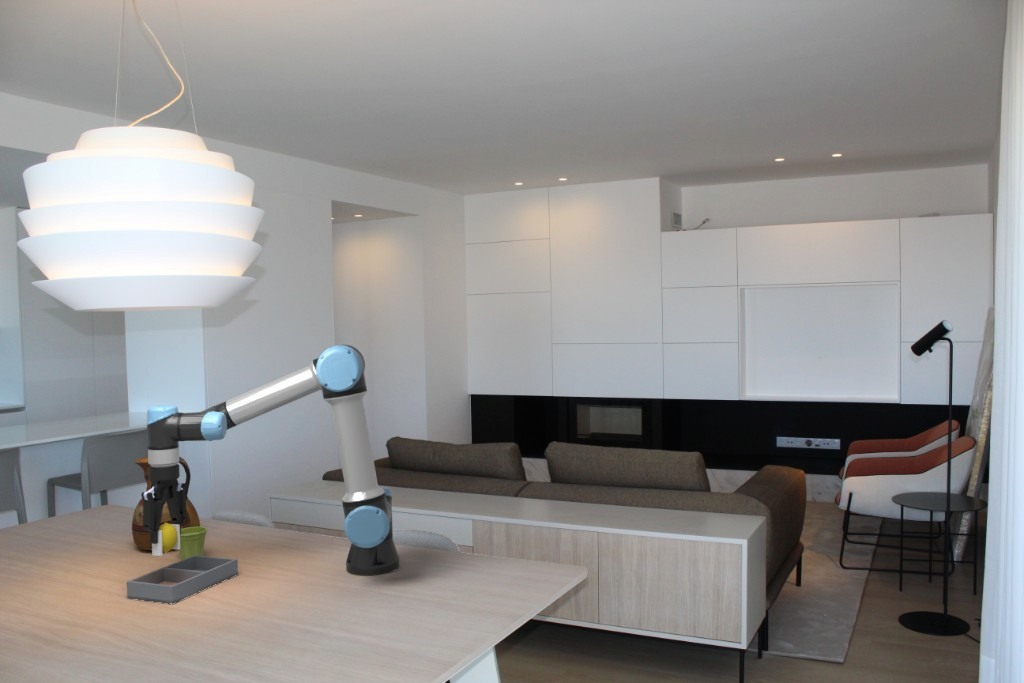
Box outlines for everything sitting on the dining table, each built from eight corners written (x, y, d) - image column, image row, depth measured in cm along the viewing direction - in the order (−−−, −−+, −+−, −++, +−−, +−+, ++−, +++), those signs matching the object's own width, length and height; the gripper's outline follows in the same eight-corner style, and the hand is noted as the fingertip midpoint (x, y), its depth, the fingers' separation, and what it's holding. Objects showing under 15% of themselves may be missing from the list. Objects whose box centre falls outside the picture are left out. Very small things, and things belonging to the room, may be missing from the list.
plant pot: (186, 565, 241) (185, 536, 240) (168, 560, 246) (167, 531, 246) (214, 557, 248) (213, 529, 248) (197, 552, 254) (196, 525, 253)
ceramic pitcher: (132, 543, 267) (129, 452, 266) (198, 535, 275) (195, 446, 274) (132, 558, 249) (129, 461, 248) (203, 549, 257) (199, 455, 256)
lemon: (150, 554, 214) (149, 523, 214) (168, 548, 219) (167, 519, 219) (164, 556, 211) (164, 526, 211) (182, 551, 216) (181, 521, 216)
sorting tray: (237, 575, 230) (237, 559, 230) (172, 604, 207) (172, 587, 207) (195, 570, 235) (194, 555, 235) (127, 598, 212) (126, 581, 212)
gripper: (178, 457, 224) (180, 541, 225) (124, 470, 207) (127, 560, 208) (200, 459, 222) (202, 543, 222) (147, 471, 204) (150, 563, 205)
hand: (166, 551), depth 215 cm, fingers closed on lemon, 5 cm apart
